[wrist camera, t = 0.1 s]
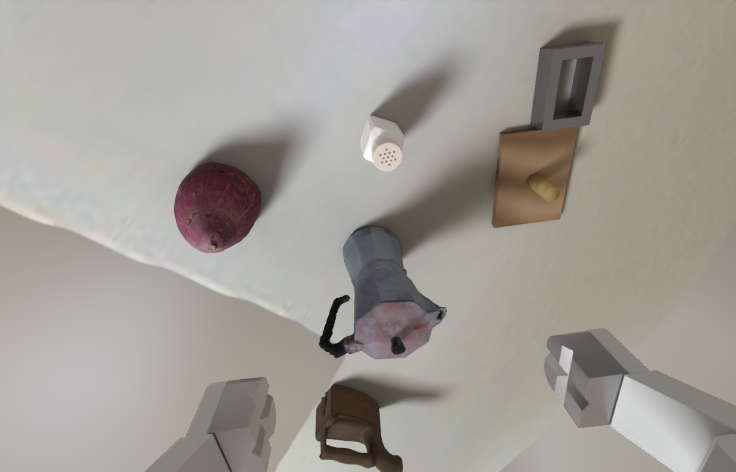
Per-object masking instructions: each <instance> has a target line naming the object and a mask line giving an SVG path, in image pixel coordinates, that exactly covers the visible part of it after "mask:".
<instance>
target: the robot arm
mask: <svg viewBox="0 0 736 472" xmlns="http://www.w3.org/2000/svg"><path fill="white" fill-rule="evenodd" d="M547 348H548V350H549V351H550V352H551V353H550V354H549V355H548V356H547V357H546V358H545V364H544V369H545V374H546V378H547V380H548V382H549V385H550V386H551V388H552V389H553V391H554V392H555V393H556V394H558V395H559V396H561V397H563V398H564V399H565V400H564V408H565V409H566V410H567V412H568V413H569V415H570V416H571V418H572V419H573V421H574V422H575V424H576V425H577V427H578V428H584V427H593V426H602V425H611V427H612V428H614V429H615V430H617V431H618V432H620V433H621V434H622V435H624V436H625V437H626V438H628V439H629V440H631V441H632V442H633V443H635V444H636V445H638V446H639V447H640V448H642V449H643V450H645V451H646V452H648V453H649V454H650V455H652V456H653V457H654V458H656V459H657V460H659V461H660V462H662V463H663V464H664V465H666V466H667V467H669V468H670V469H671V470H673V471H674V472H736V406H734V405H732V404H730V403H728V402H725V401H723V400H721V399H719V398H717V397H714V396H712V395H710V394H708V393H705V392H703V391H701V390H699V389H696V388H694V387H692V386H690V385H688V384H685V383H683V382H681V381H678V380H676V379H674V378H672V377H670V376H667V375H665V374H663V373H661V372H658V371H650V370H648V368H646V366H644V365H643V364H642V363H641V362H640V361H639V360H638V359H637V358H636V357H635V356H634V355H633V354H632V353H631V352H630V351H629V350H628V349H627V348H626V347H625V346H624V345H623V344H622V343H621V342H619V341H618V340H617V339H616V338H615V337H614V336H613V335H612V334H611V333H610V332H609V331H608V330H606V329H604V328H601V329H595V330H588V331H581V332H575V333H568V334H562V335H555V336H550V337H549V339H548V341H547ZM268 388H269V385H268V382H267V379H266V378H265V377H259V378H250V379H240V380H232V381H227V382H218V383H211V384H210V385H209V386H208V387H207V388H206V390H205V393H204V395H203V398H202V400H201V402H200V405H199V407H198V409H197V412H196V414H195V416H194V419H193V421H192V423H191V426H190V428H189V430H188V433H187V435H186V437H184V438H180V439H179V440H178V441H177V442H175V443H174V445H172V446H171V447H170V448H169V449H168V450H167V451H166V452H165V453H164V454H163V455H162V456H161V457H160V458H159V459H158V460H156V461H155V462H154V463H153V464H152V465H151V466H150V467H149V468H148V469H147V470H146V471H145V472H267V468H268V463H269V457H270V452H271V447H270V444H269V441H268V439H269V438H270V437H271V435H272V434H273V433H274V430H275V424H276V410H275V403H274V400H273V397H272V396H270V395H269V394H267V393H268Z"/></svg>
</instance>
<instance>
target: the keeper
mask: <svg viewBox="0 0 736 472" xmlns="http://www.w3.org/2000/svg"><path fill="white" fill-rule="evenodd" d="M578 127H579V126H577V127H569V128H562V129H554V130H546V131H540V130H539V129H537V128H534V129H526V130H519V131H511V132H504V133H500V138H499V149H498V161H497V173H496V184H495V196H494V207H493V219H492V225H493V227H494V228H498V227H505V226H512V225H520V224H527V223H535V222H542V221H549V220H557V219H560V217H561V212H562V207H563V202H564V197H565V192H566V187H567V182H568V177H569V172H570V167H571V162H572V157H573V152H574V147H575V142H576V137H577V132H578Z"/></svg>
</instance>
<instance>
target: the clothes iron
mask: <svg viewBox="0 0 736 472" xmlns="http://www.w3.org/2000/svg"><path fill="white" fill-rule="evenodd" d="M321 399H322V401H321V403H320V404H319V406H318V407H317V410H316V440H317V441H320V442H321V455H320V456H319V457H320V459H322V460H335V461H338V462H340V463H344V464H357V465H361V466H363V467H366V468H370V467H374V466H376V468H377V469H378V470H380V471H381V472H402V471H403V464H402V459H401V457H400V456H398V455H392V454H390V453H389V452H388V451H387V450H386V449H385V447H384V445H383V442H382V438H381V428H380V414H379V406H378V404H377V403H376V402H375V401H374V400H373V399H372V398H370V397H369V396H367V395H365V394H364V393H361V392H359V391H357V390H353V389H350V388H347V387H343V386H338V385H332V387H331V388H330V390H329V391H328V393H327V394H326V395H325V397H322V398H321ZM326 439H335V440H343V441H356V442H360V443H362V444H364V445H365V446H366V448H367V452H368V453H360V452H357V451H354V450H351V449H348V448H336V447H332V446H329V445H326Z"/></svg>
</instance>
